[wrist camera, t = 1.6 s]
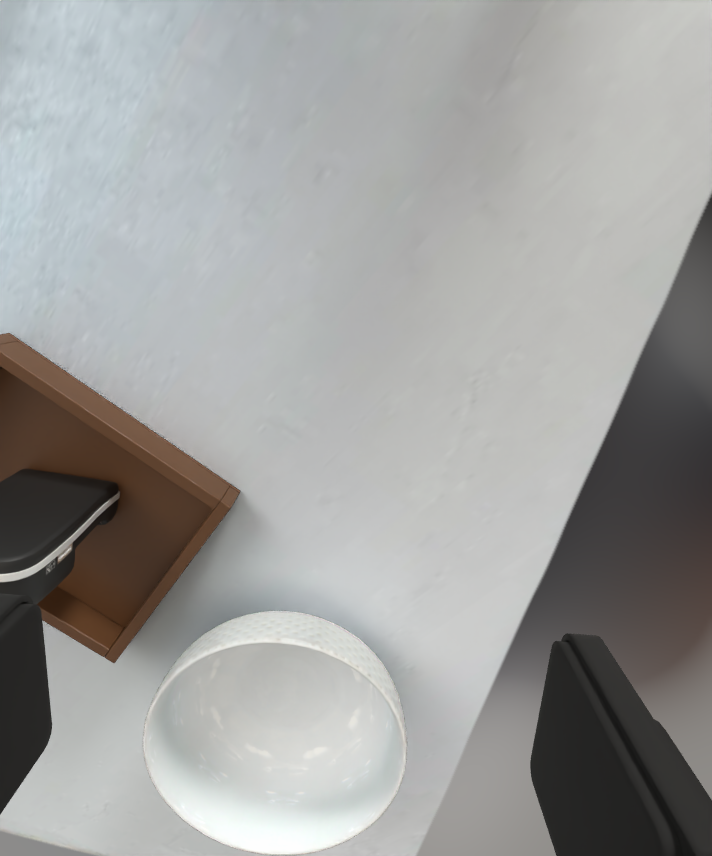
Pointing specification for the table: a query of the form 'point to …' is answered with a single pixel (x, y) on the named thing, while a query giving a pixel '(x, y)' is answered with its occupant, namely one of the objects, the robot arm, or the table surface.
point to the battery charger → (47, 527)
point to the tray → (137, 505)
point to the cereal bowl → (277, 735)
